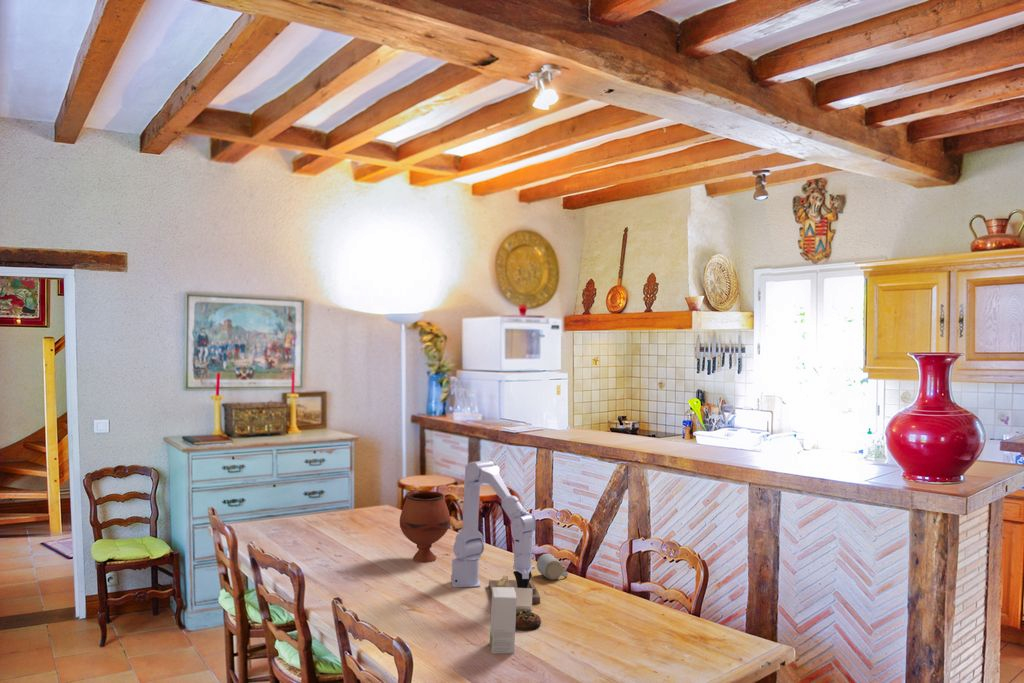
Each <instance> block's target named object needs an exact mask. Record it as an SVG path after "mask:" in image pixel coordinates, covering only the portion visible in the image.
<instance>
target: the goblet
mask: <svg viewBox="0 0 1024 683" xmlns="http://www.w3.org/2000/svg"><path fill="white" fill-rule="evenodd" d="M404 501H405V502H404V504H403V506H402V510H401V512H400V516H399V527H400V530H401V532H402V533H403V535H404V536H405V537H406V538H407V540H409V541H410V542H412V543H413V544H415V545H416V549H417V552H416V553H414V555H413V557H412V561H413V562H416V563H421V564H422V563H424V564H425V563H431V562H433V561H436V560H437V558H436V557H437V556H436V555H435V554H434V552H432V550H431V548H432V546H433V544H435V543H436V542H438V541H439V540H440V539H442V538H443V537H444V535H445V534H446V533H447V532H448V530H449V528H450V524H451V516H450V515H451V514H450V511H449V509H448V505H447V503H446V500H445V495H444V493H442V492H438V491H416V492H410V493H407V494H406V499H405V500H404Z"/></svg>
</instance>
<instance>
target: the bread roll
mask: <svg viewBox="0 0 1024 683" xmlns="http://www.w3.org/2000/svg"><path fill="white" fill-rule="evenodd" d="M541 624H542V620H541V617H540V616H539V615H538V613H537V614H536V613H535V612H532V610H520V609H519V610H516V624H515V630H517V631H535V630H538V629H539V628H540V626H541Z"/></svg>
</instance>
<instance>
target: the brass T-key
mask: <svg viewBox="0 0 1024 683" xmlns="http://www.w3.org/2000/svg"><path fill="white" fill-rule="evenodd" d="M508 580H509V576H508V575H503V576H502V577H501V579H500V582H499V583H498V587H506V585H507V583H508Z"/></svg>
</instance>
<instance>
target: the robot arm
mask: <svg viewBox="0 0 1024 683" xmlns="http://www.w3.org/2000/svg"><path fill="white" fill-rule="evenodd" d="M464 469H465V470H464V479H463V481H464V482H463V503H462V504H463V505H462V528H461V530H460V531H459V532H458V534H457V535H456V536H455V541H454V543H453V546H452V547H453V548H452V549H453V554H454V556H455V557H454V558H452V562H451V574H450V580H451V585H452V586H451V587H453V588H469V587H470V588H476V587H477V588H480V587H481V583H480V578H479V574H480V573H479V571H480V570H479V568H480V558H481V555H482V554H483V553H484V552H485V544H484V543H485V542H484V538H483V537H484V535H483V533H481V532H480V531H479V512H480V511H479V510H480V509H479V508H480V487H481V485H483V484H487V485H489V486H490V487H491V489H492V490H493V491H494V492H495V494H496V495H497V496H498V497H499V499H500V500H501V508H502V509H503V511H504V513H505V514H506V516H507V517H508V519H509V520H510V522H511V523H510V528H511V531H512V537H513V539H514V540H513V542H514V543H513V544H514V545H513V547H514V548H513V566H512V568H513V572H512V573H513V575H514V577H515V580H516V582H517V588H527V587H528V583H529V581H530V579H531V580H532V576H533V574H532V570H535V569H536V565H535V564H533V563H532V561H533V560H532V559H533V558H532V557H533V532H534V531H535V530H536V528H537V520H536V518H535V516H534V514H532V513H530V512H529V511H527V510H525V508H524V506H523V505H522V504H521V502H520V499H519V498H518V497H517V496H516V495H512V494H511V492H510V491H509V489H508V488H507V486H506V483H505V482H504V480H503V478H502V476H501V475H500V473H501V472H500V471H501V470H500V467H499V466H498V464H497V462H496V461H495V460H494V459H491V458H490V459H488V460H487V459H485V460H479V461H478V460H477V461H470V462H469V463H468V464H466V465H465V467H464Z"/></svg>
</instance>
